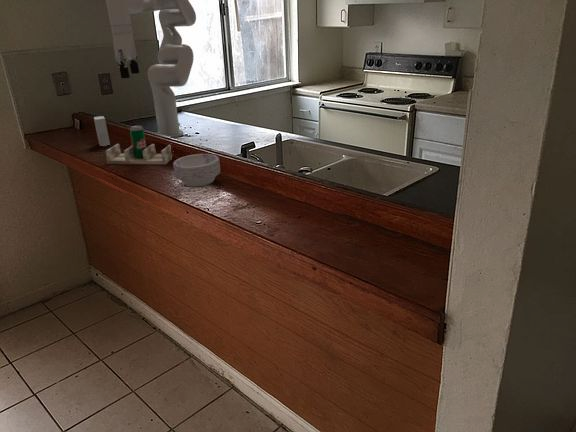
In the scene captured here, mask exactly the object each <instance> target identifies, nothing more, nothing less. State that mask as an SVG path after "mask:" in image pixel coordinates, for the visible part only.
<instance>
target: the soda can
mask: <svg viewBox="0 0 576 432" xmlns="http://www.w3.org/2000/svg"><path fill="white" fill-rule="evenodd" d="M129 133H130V134H129V135H130V139H131V146H133V152H134V157H135V158H137V159H141V158H143V153H142V151H143V150H144V149H146V148H147V141H146V138H145V137H146V136H145V129H144V127H143V125H132V126H130V127H129Z"/></svg>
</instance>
